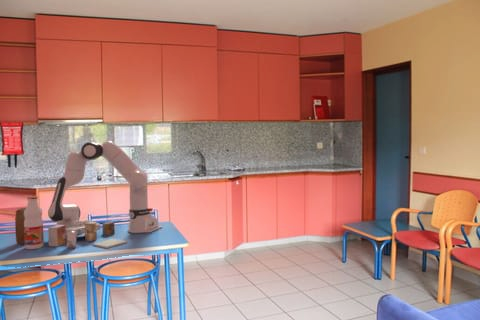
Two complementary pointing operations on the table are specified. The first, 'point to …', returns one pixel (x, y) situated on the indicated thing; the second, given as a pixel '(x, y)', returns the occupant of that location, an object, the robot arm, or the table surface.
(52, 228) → the small box
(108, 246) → the beige flat square plate
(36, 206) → the fruit juice
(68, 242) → the metal can
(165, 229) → the table surface
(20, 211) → the block
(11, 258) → the table surface
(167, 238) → the table surface
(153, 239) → the table surface
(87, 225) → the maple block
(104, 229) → the walnut block
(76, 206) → the robot arm
